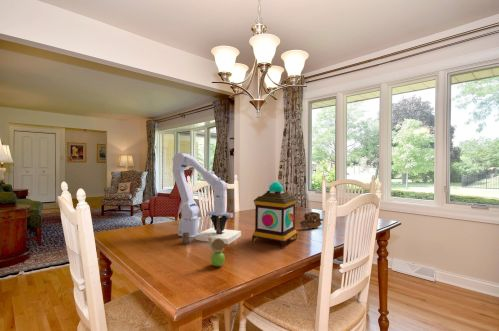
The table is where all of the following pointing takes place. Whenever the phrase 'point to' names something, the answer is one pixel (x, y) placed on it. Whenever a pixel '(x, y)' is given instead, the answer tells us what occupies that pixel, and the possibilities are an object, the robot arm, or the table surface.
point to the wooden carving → (311, 220)
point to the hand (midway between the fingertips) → (219, 230)
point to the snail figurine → (217, 251)
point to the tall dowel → (218, 226)
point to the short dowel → (185, 238)
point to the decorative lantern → (275, 215)
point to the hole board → (219, 235)
